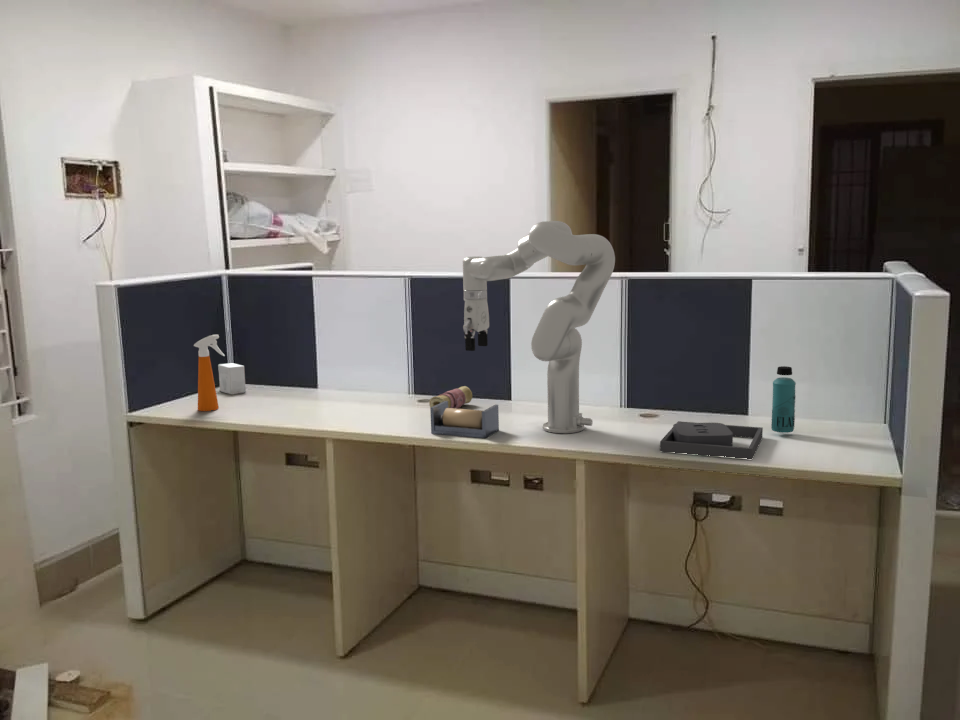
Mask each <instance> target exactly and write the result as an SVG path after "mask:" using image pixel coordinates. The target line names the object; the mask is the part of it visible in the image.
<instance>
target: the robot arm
mask: <svg viewBox="0 0 960 720" xmlns="http://www.w3.org/2000/svg"><path fill="white" fill-rule="evenodd" d="M547 257H550V258H552V259H554V260H556V261H558V262H561V263H564V264H566V265H569V266H582V265H583V266H584V268H583V269H582V271H580V273H579V274H578V276H577V278H576V279H575V281H574V284H573V286H572V289H571V290H570V291H569V293H568V294H567V295H565V296H560V297H557V298H555V299H552V300H551V301H550V303H548V304H547V306H546V308H545V309H544V312H543V313H542V316H541V318H540V320H539V321H538V322H539V323H538V324H537V326H536V328H535V330H534V333H533V336H532V338H531V343H530V344H531V345H530V346H531V347H530V348H531V351H532V354H533V355H534V357H535V358H536V359H537V360H539V361H542V362H548V363H547V364H548V366H547V373H546V375H547V383H546V384H547V422H544V423H543V425H542V429H543V431H546V432H549V433H553V434H575V433H579V432H583V430H584V429H585V426H586V427H589V426H590V427H592V426H593V419H591V418H590V417H589V418H588V417H583V413H582V412H580V360H581V359H580V358H581V355H582V353H581V352H582V345H583V342H582V340H583V339H582V336H581V334H580V332H579V330H578V329H577V328H580V327H583V326H585V325H586V324H588V323H589V321H590V320H591V319H592V316H593V313H594V311H595V310H596V307H597V305H598V303H599V301H600V299H601V297H602V294H603V292H604V290H605V289H606V287H607V284H608V283H609V281H610V278H611V277H612V275H613V272H614V270H615V263H616V255H615V251H614V248H613V246H612V244H611V242H610V241H609V240H608V239H607V238H606V237H605V236H603V235H601V234H595V233H592V234H591V233H589V234H577V235H576V234H573V232H572V229H571V227H570V226H569V224H567V223H566V222H564V221H561V220H546V221H540V222H537V223H536V224H534V225H533V226H532V227H531V229H530V231H529V233H528V234H527V235H525V236H523V237H521V238H520V239H519V240H518V242H517V248H516V249H515V250H513V251H511V252H509V253H507V254H503V255H493V256H492V255H491V256H467V257H464V258H463V260H462V280H463V281H462V284H463V286H462V287H463V288H462V289H463V301H464V310H463V313H464V314H463V316H464V317H463V320H464V321H463V322H464V323H463V326H462V329H463V335H464V343H465V344H464V345H465V346H464V347H465V349H464V350H465V351H468V352H469V351H471V352H474V351H476V338H475V336H476V335H475V334H476V332H478V333H477V345H478V347H487V346H488V333H489V331H488V329H489V328H490V314H489V305H488V285H487V284H488V282H492V281H493V282H494V281H499V280H507V279H510V278H513V277H515V276H518V275H519V274H521V273H524V272H525V271H527V270H529V269H530V268H531V267H533V265H534V264H536V263H538V262H539V261H541V260H543V259H545V258H547Z"/></svg>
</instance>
